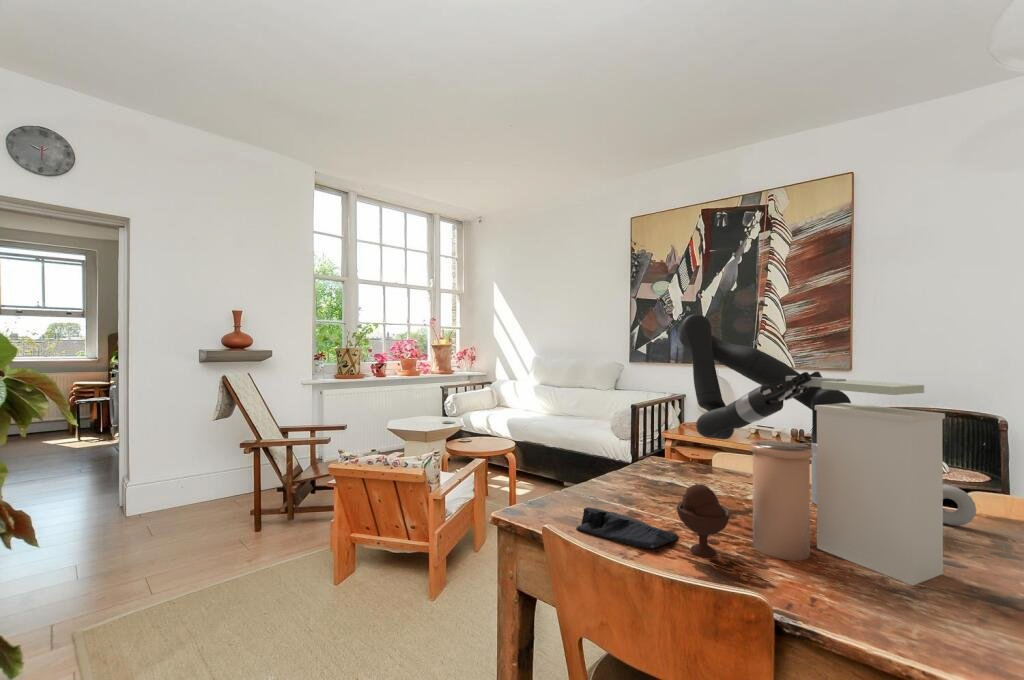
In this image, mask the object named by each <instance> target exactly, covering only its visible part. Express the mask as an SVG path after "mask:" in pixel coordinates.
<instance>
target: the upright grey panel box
mask: <svg viewBox="0 0 1024 680" xmlns="http://www.w3.org/2000/svg"><path fill="white" fill-rule="evenodd" d="M815 410H817V505H816V548H817V549H818V550H821V551H823V552H825V553H828V554H831V555H834V556H835V557H839V558H840V559H844V560H847V561H849V562H852V563H854V564H856V565H859V566H861V567H863V568H867V569H869V570H872V571H874V572H877V573H879V574H881V575H885V576H887V577H888V578H889V577H890V578H891V579H895V580H897V581H900V582H903V583H905V584H908V585H910V586H915V585H918V584H922V583H924V582H926V581H928V580H931V579H934V578H936V577H939V576H942V575H944V527H943V526H944V523H943V509H944V507H943V505H944V504H943V502H944V499H943V485H944V483H943V481H944V480H943V479H944V478H943V477H944V476H943V475H944V474H943V471H944V470H943V465H944V464H943V463H944V462H943V455H944V454H943V420H944V419H946V413H943V412H933V411H924V410H914V409H905V408H897V407H896V408H895V407H886V406H879V405H870V404H869V405H868V404H859V403H852V402H851V403H839V404H826V405H815Z"/></svg>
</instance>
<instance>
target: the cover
mask: <svg viewBox="0 0 1024 680" xmlns="http://www.w3.org/2000/svg"><path fill="white" fill-rule="evenodd" d="M794 377H796V376H786V380H788V379H789V378H794ZM801 386H813V387H821V389H830V390H840V391H841V392H854V393H865V394H879V395H890V396H899V395H900V396H901V395H913V394H925V384H915V383H912V384H911V383H900V382H899V383H897V382H885V381H884V382H881V381H868V380H856V379H854V380H853V379H846V378H834V377H833V378H832V377H822V378H821V377H811V380H810V381H808V382H806V383H804V384H803V385H801Z"/></svg>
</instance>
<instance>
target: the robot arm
mask: <svg viewBox="0 0 1024 680" xmlns="http://www.w3.org/2000/svg"><path fill="white" fill-rule="evenodd" d="M712 332H713V331H712V323H711V321H710V320H709V319H708V318H707V317H706V316H705V315H702V314H700V313H699V314H698V313H695V314H691V315H688V316H687V317H686V318H685V319H684V320H683V321H682V324H681V326H680V330H679V332H678V333H679V334H678V339H679V341H680V343H681V344H682V345H683V346H684V347H685V348H687V349H688V350H690V352H691V360H692V372H693V373H692V375H693V386H694V391H695V397H696V400H697V403H698V406H699V407H700V408H702V409H704V410H706V412H704V413H702V414H701V415H700V416H699V417H698V418H697V421H696V425H695V428H696V431H697V432H698V434H699V435H700V436H701V437H704V438H708V439H716V440H717V439H718V440H727V439H728V440H729V439H730V438H732V437H733V434H734V431H735V429H742V428H744V427H746V426H748V425H750V424H752V423H755V422H758V421H761V420H763V419H765V418H767V417H770V416H772V415H774V414H776V413H778V412H779V411H781V410H782V409H783V407H784V401H789V400H792V399H794V400H795V401H797V402H799V403H801V404H802V405H804V406H805V407H807V408H808V409H810V410H811V411H812V414H811V415H812V417H811V418H812V424H811V426H812V427H811V428H812V429H811V436H810V437H811V439H810V440H811V441H810V442H811V448H812V457H811V458H810V460H811V461H810V463H811V466H810V467H811V468H810V469H811V470H810V473H811V487H810V488H811V489H810V490H811V492H810V493H811V494H810V496H811V497H810V498H811V503H812V504H813V505H816V506H817V410H815V405H826V404H839V403H851V404H852V402H851V399H850V397H848V395H847V394H846V393H844V391H842V390H830V389H821V387H813V386H801V385H803V384H804V383H806V382H808V381H810V380H811V377H821V378H823V376H822V374H821V372H820V371H814V372H812V373H809V372H808V371H804V372H802V373H799V372H798V371H797V370H795V369H793V368H792V367H790V366H789V365H787V364H786V363H784V362H783V361H781V360H779V359H777V358H776V357H774V356H773V355H770V354H768V353H766V352H764V351H762V350H760V349H757V348H755V347H752V346H748V345H740V344H734V343H729V342H728V341H725V340H723V339H720V338H718V337H717V336H715V335H713V334H712ZM715 361H716V362H718V363H720V364H721V365H723V366H724V367H727V368H729V369H730V370H733V371H735V372H736V373H738V374H740V375H742V376H744V377H745V378H747V379H749V380H750V381H752V382H755V384H758V385H759V386H758V387H756V388H755V389H752V390H751V391H749V392H747V393H746V394H744V395H742V396H740V397H739V398H738V399H737V400H735V401H732V402H731V403H729V404H728V405H726V404H725V401H724V400H723V398H722V397H723V396H722V391H721V388H720V383H719V379H718V374H717V370H716V369H717V368H716V364H715ZM786 376H796V377H794V378H789V379H788V380H786Z"/></svg>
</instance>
